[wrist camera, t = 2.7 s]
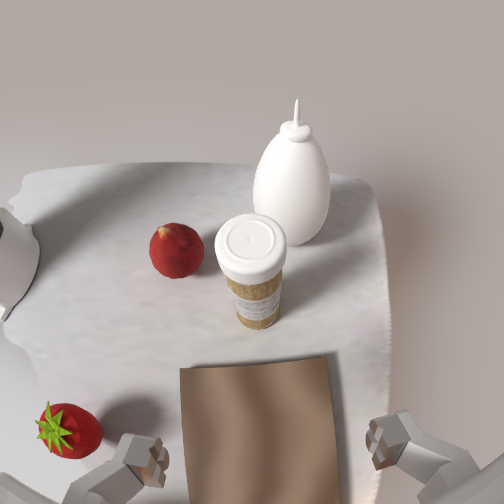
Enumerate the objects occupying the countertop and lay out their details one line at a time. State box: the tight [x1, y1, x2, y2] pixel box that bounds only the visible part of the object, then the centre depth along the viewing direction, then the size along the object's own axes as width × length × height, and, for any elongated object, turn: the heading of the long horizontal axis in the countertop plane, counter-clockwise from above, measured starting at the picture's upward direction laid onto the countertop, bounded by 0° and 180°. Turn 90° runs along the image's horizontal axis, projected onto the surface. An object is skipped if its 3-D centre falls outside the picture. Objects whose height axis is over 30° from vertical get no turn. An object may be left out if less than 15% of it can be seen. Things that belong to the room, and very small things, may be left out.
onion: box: [149, 223, 204, 279], centre depth 28 cm, size 6×6×8 cm
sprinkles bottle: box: [215, 213, 286, 330], centre depth 23 cm, size 5×4×14 cm
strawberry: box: [35, 401, 102, 459], centre depth 17 cm, size 6×8×10 cm
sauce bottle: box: [253, 99, 331, 247], centre depth 25 cm, size 8×8×18 cm
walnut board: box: [180, 356, 340, 504], centre depth 19 cm, size 14×20×2 cm
